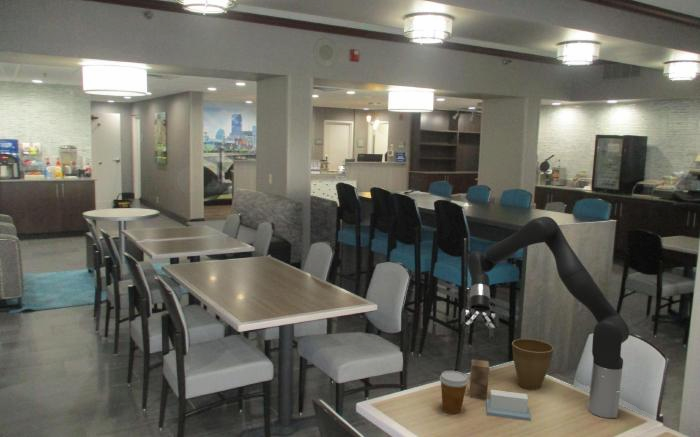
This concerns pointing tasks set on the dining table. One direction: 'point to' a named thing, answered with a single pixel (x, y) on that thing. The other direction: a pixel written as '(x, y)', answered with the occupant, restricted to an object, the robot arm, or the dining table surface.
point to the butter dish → (508, 405)
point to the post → (479, 379)
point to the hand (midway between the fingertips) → (479, 337)
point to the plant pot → (531, 361)
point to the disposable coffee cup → (453, 390)
